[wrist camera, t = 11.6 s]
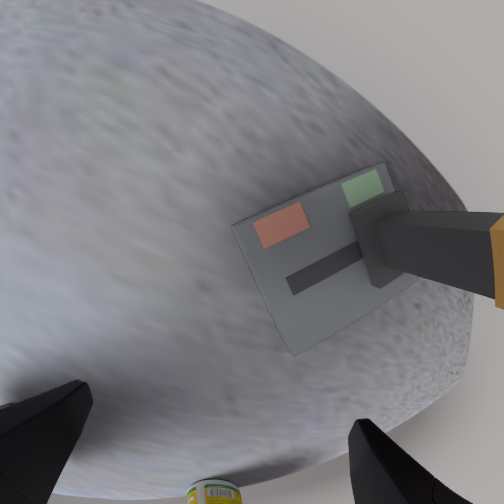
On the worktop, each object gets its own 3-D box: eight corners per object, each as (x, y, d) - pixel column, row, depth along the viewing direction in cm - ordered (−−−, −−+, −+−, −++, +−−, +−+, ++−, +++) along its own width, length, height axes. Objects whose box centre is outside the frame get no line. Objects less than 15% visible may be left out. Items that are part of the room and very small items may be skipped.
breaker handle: (371, 285, 17) (506, 341, 7) (348, 213, 16) (502, 217, 6) (412, 258, 18) (540, 289, 7) (393, 191, 17) (533, 183, 6)
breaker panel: (284, 343, 19) (293, 357, 17) (230, 226, 17) (234, 227, 15) (402, 274, 20) (419, 279, 18) (368, 166, 19) (385, 161, 17)
